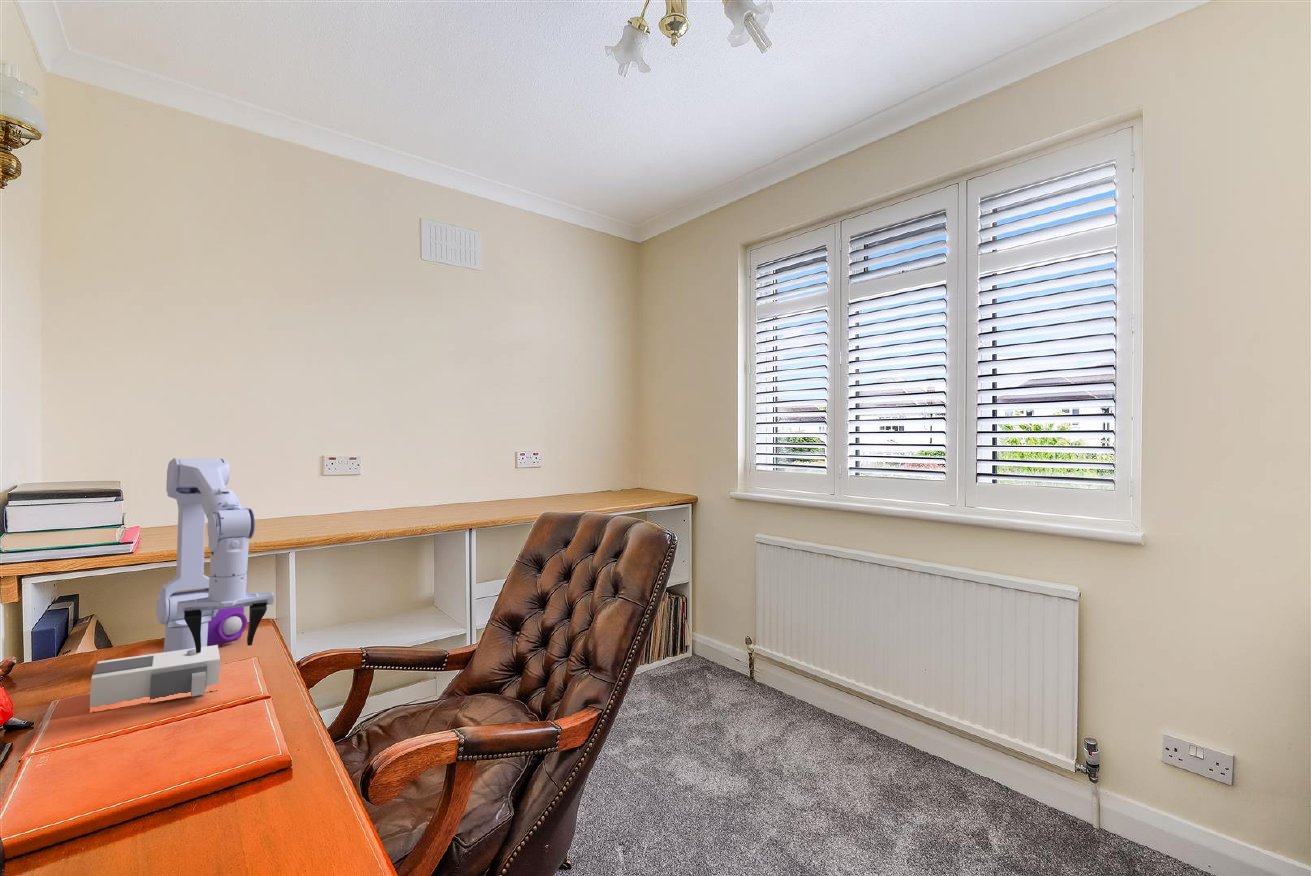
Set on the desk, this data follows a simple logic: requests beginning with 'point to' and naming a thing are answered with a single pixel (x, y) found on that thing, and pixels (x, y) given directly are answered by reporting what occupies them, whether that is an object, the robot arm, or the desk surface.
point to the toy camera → (226, 625)
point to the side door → (179, 681)
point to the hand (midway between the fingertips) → (224, 647)
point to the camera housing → (145, 673)
